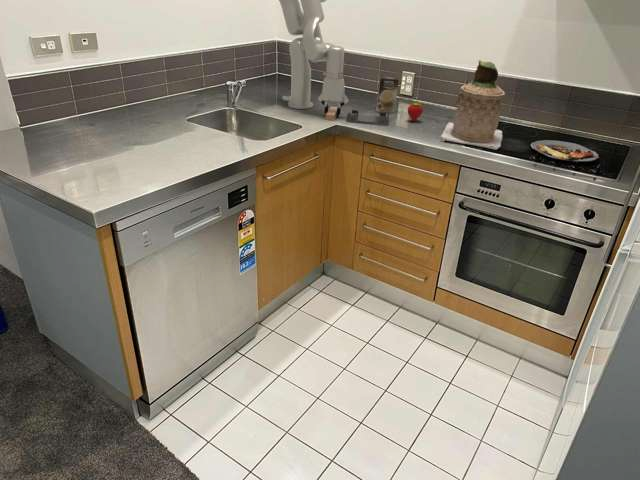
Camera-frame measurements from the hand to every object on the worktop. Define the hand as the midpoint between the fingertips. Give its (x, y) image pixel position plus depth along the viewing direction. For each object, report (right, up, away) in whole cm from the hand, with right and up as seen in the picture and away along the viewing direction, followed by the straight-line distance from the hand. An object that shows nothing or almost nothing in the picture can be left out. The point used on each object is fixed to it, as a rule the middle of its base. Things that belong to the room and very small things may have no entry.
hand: (332, 115), depth 229 cm
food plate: (+92, -25, -32) cm, 101 cm away
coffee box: (+27, +5, +13) cm, 30 cm away
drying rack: (+16, -4, -4) cm, 17 cm away
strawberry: (+38, -3, -1) cm, 38 cm away
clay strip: (0, -1, 0) cm, 1 cm away
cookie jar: (+60, -15, -19) cm, 64 cm away
